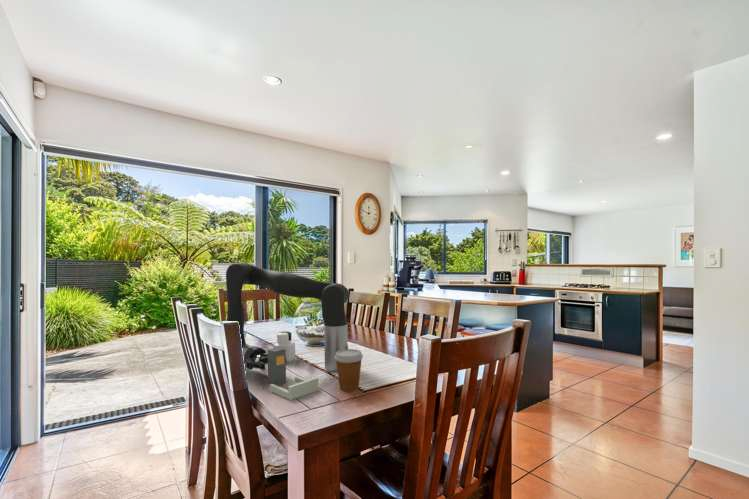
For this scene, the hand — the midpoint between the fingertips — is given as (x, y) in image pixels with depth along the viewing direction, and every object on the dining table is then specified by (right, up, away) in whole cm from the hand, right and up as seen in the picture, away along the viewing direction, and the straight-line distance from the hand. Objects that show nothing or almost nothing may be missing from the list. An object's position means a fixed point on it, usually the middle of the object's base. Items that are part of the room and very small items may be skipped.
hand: (275, 364), depth 132 cm
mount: (+9, -6, -8) cm, 13 cm away
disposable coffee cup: (+27, -6, -7) cm, 29 cm away
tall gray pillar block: (+1, -7, -1) cm, 7 cm away
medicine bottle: (-3, -7, +28) cm, 29 cm away
